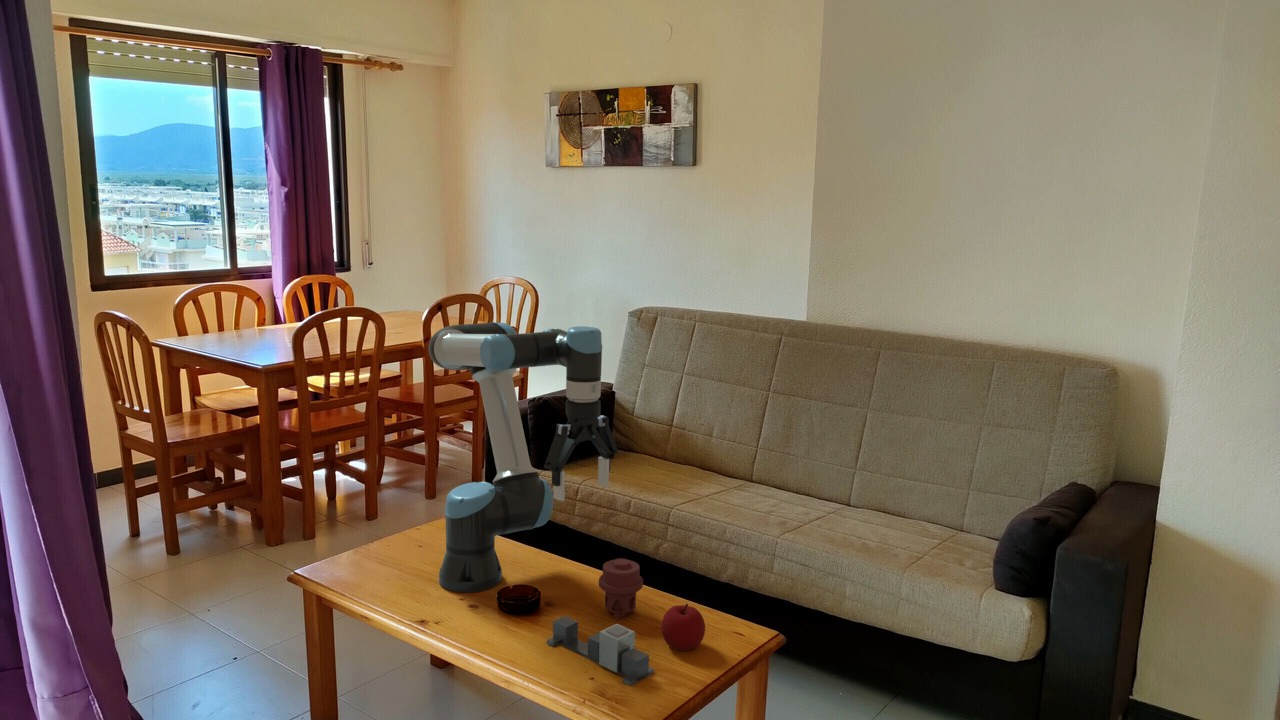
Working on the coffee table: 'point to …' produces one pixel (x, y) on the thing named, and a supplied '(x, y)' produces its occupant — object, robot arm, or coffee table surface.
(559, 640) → the rail
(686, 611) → the apple
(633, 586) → the mechanical component
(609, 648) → the block
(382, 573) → the coffee table surface
